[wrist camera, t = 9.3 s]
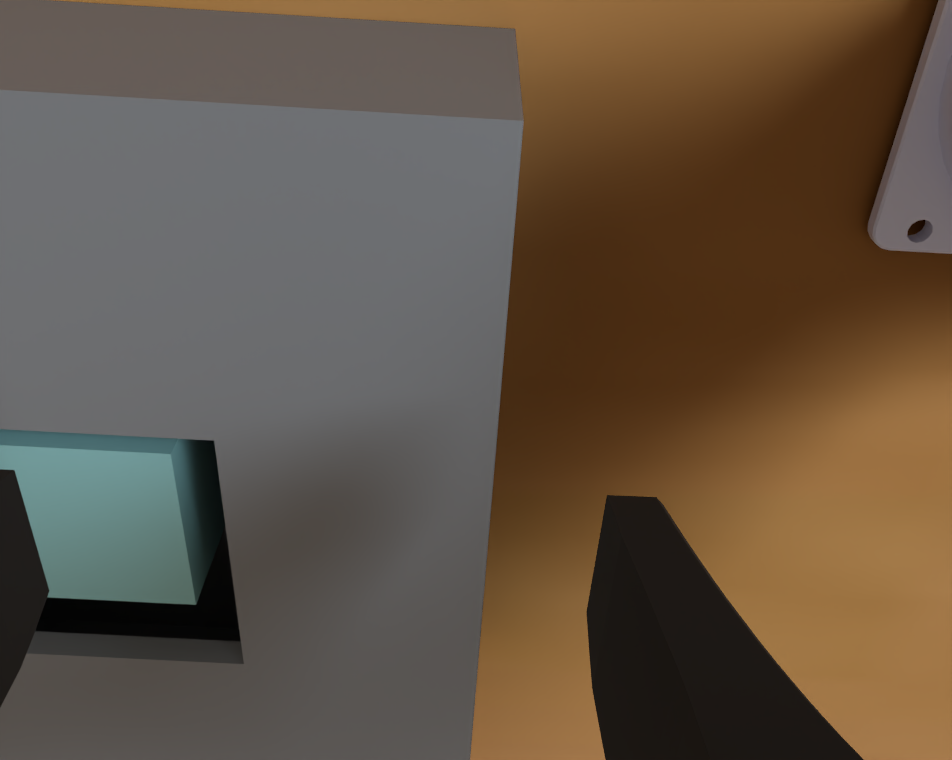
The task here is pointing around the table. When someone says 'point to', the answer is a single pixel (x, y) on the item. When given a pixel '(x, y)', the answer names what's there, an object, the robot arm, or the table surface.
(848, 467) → the table surface
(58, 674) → the gray slotted box
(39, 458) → the teal rectangular block
